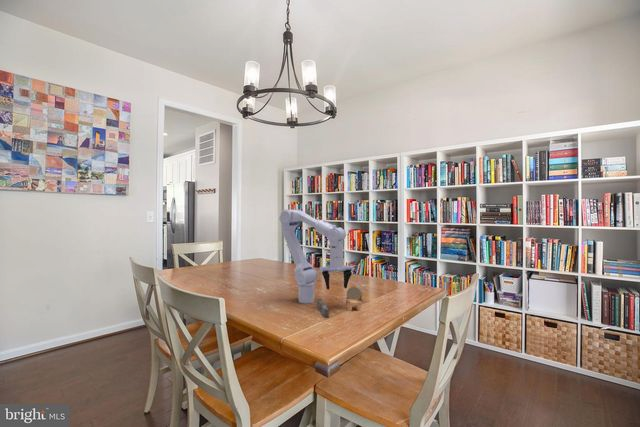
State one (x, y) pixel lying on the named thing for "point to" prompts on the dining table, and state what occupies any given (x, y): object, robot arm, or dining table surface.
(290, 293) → the dining table surface
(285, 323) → the dining table surface
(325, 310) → the stand
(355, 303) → the u-shaped block
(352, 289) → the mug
